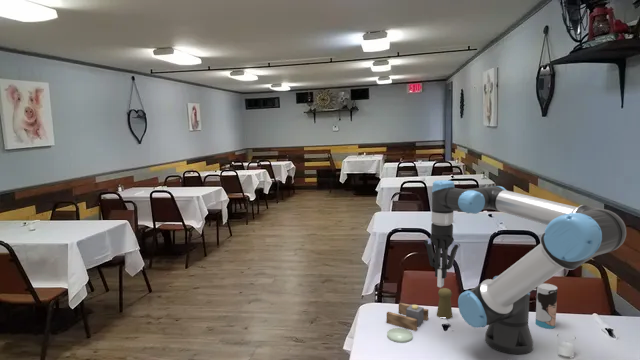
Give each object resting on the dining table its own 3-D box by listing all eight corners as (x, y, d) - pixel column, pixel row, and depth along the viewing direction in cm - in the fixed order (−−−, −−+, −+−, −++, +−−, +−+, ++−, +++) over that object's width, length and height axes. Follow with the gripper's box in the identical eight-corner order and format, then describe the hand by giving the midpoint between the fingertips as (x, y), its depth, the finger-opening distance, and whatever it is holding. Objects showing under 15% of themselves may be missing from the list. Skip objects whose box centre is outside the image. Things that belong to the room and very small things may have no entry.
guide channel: (428, 319, 167) (428, 309, 166) (415, 331, 157) (415, 320, 157) (400, 311, 174) (400, 302, 173) (386, 322, 164) (386, 312, 164)
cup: (549, 330, 156) (552, 291, 155) (531, 323, 162) (533, 285, 160) (558, 325, 160) (560, 287, 159) (540, 319, 166) (542, 282, 164)
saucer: (416, 334, 154) (416, 332, 154) (406, 345, 147) (406, 342, 147) (394, 328, 160) (394, 325, 159) (382, 337, 152) (382, 335, 152)
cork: (453, 319, 166) (453, 292, 165) (437, 318, 168) (437, 291, 166) (451, 312, 172) (452, 286, 171) (436, 311, 174) (436, 285, 172)
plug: (423, 322, 164) (423, 305, 163) (418, 327, 160) (418, 309, 159) (411, 319, 167) (411, 302, 166) (405, 324, 163) (406, 306, 162)
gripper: (463, 223, 152) (461, 286, 155) (428, 219, 160) (427, 279, 163) (456, 227, 146) (454, 293, 149) (420, 222, 154) (419, 285, 157)
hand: (440, 286), depth 156 cm, fingers closed
